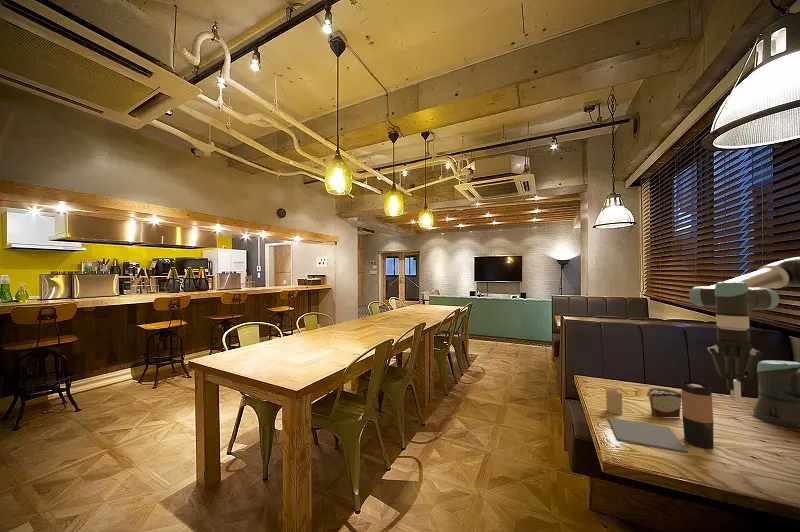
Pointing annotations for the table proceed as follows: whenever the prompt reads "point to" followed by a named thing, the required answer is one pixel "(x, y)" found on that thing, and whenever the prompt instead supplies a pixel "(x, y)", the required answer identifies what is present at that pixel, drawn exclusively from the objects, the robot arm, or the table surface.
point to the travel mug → (697, 414)
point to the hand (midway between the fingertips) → (735, 400)
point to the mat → (646, 434)
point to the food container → (664, 402)
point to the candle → (614, 400)
